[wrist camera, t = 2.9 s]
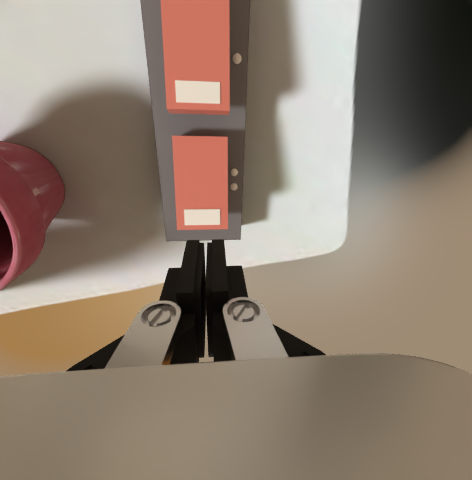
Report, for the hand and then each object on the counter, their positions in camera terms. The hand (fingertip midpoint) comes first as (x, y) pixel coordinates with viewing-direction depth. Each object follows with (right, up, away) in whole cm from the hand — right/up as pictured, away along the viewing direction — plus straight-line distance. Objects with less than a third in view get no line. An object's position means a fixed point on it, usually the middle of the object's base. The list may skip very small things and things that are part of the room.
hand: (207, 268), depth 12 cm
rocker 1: (-2, +17, +9) cm, 19 cm away
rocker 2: (-2, +7, +14) cm, 16 cm away
